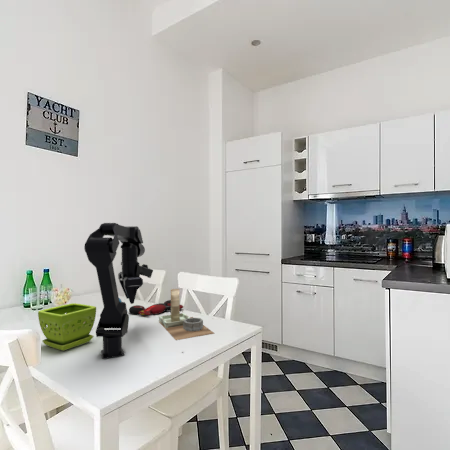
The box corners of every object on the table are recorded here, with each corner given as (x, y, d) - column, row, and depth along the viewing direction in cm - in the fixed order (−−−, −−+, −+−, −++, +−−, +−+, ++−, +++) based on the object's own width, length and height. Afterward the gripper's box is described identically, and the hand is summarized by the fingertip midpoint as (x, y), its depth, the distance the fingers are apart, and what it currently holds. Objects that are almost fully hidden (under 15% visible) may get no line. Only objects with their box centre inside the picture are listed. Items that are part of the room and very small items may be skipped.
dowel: (181, 320, 130) (181, 289, 130) (174, 322, 127) (173, 290, 127) (176, 319, 132) (176, 288, 133) (169, 320, 130) (169, 289, 130)
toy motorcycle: (127, 315, 150) (136, 318, 136) (126, 304, 150) (136, 306, 137) (175, 309, 163) (188, 311, 150) (175, 299, 164) (188, 300, 150)
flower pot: (98, 341, 112) (97, 306, 112) (60, 355, 100) (60, 315, 100) (74, 335, 119) (73, 301, 119) (36, 347, 107) (36, 310, 107)
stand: (214, 336, 116) (214, 325, 116) (175, 343, 109) (175, 331, 109) (191, 318, 139) (191, 309, 139) (157, 323, 132) (157, 313, 132)
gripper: (156, 260, 113) (157, 303, 113) (145, 256, 130) (146, 293, 130) (124, 262, 108) (125, 307, 108) (117, 257, 125) (118, 296, 125)
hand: (130, 300), depth 118 cm, fingers open, 9 cm apart
